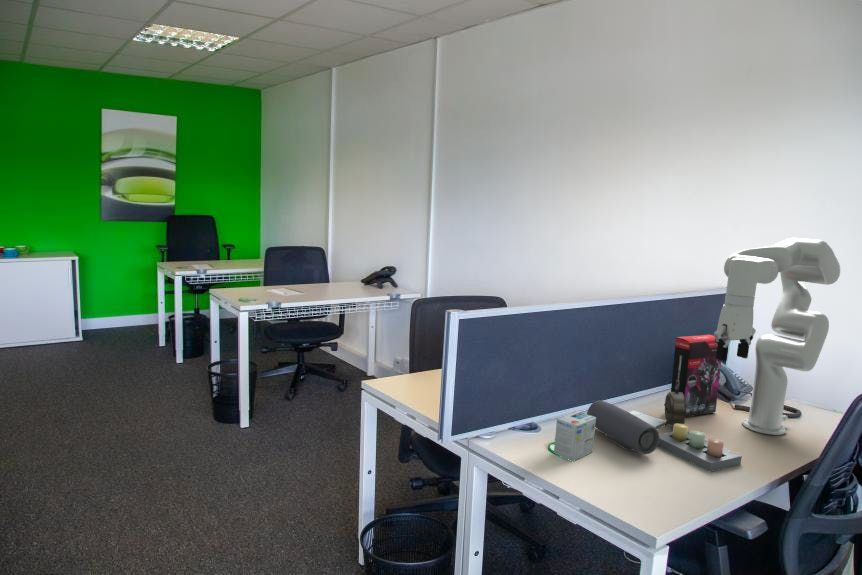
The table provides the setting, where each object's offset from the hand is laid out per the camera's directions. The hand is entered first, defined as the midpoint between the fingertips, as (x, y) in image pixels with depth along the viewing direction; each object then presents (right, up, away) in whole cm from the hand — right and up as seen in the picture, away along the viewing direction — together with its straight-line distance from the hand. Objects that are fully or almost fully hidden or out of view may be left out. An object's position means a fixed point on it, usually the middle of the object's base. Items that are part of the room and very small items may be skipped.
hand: (731, 358), depth 177 cm
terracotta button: (-8, -27, -6) cm, 29 cm away
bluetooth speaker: (-32, -26, +4) cm, 41 cm away
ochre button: (-14, -25, +4) cm, 29 cm away
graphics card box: (+3, -23, +34) cm, 42 cm away
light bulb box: (-48, -27, -6) cm, 55 cm away
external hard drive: (-17, -24, +24) cm, 38 cm away
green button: (-11, -26, -1) cm, 28 cm away
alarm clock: (-10, -25, +19) cm, 33 cm away
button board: (-11, -28, -1) cm, 30 cm away
